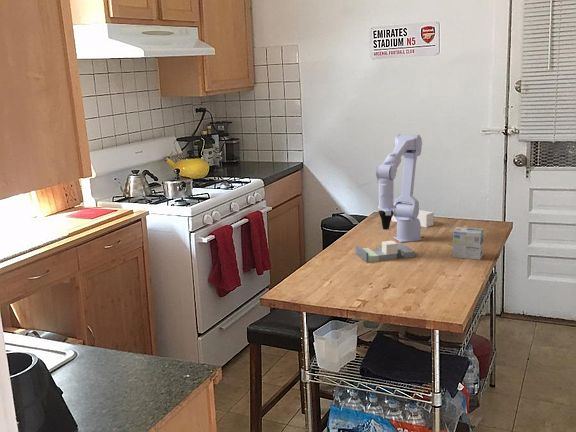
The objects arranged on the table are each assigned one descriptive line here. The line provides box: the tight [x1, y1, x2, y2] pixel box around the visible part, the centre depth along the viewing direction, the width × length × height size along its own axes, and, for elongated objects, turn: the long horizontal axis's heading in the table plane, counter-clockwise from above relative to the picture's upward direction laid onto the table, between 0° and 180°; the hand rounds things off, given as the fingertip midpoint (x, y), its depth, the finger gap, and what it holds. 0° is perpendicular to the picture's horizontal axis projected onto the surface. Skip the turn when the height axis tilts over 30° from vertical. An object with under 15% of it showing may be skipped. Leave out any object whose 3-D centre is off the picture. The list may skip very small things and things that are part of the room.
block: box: [381, 240, 398, 255], centre depth 255 cm, size 4×4×4 cm
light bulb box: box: [451, 226, 484, 261], centre depth 254 cm, size 11×7×11 cm, turn 65°
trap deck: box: [355, 243, 416, 263], centre depth 259 cm, size 20×11×4 cm, turn 105°
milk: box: [391, 209, 435, 228], centre depth 306 cm, size 6×6×22 cm
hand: (385, 229), depth 260 cm, fingers closed
